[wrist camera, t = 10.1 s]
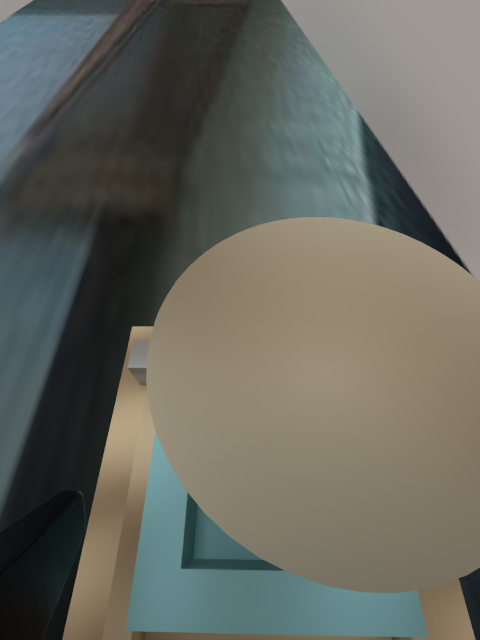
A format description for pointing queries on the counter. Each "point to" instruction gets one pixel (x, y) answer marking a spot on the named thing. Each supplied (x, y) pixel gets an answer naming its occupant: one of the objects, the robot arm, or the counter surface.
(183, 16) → the counter surface
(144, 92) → the counter surface
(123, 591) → the rail base
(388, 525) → the birch dowel
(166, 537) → the socket block
